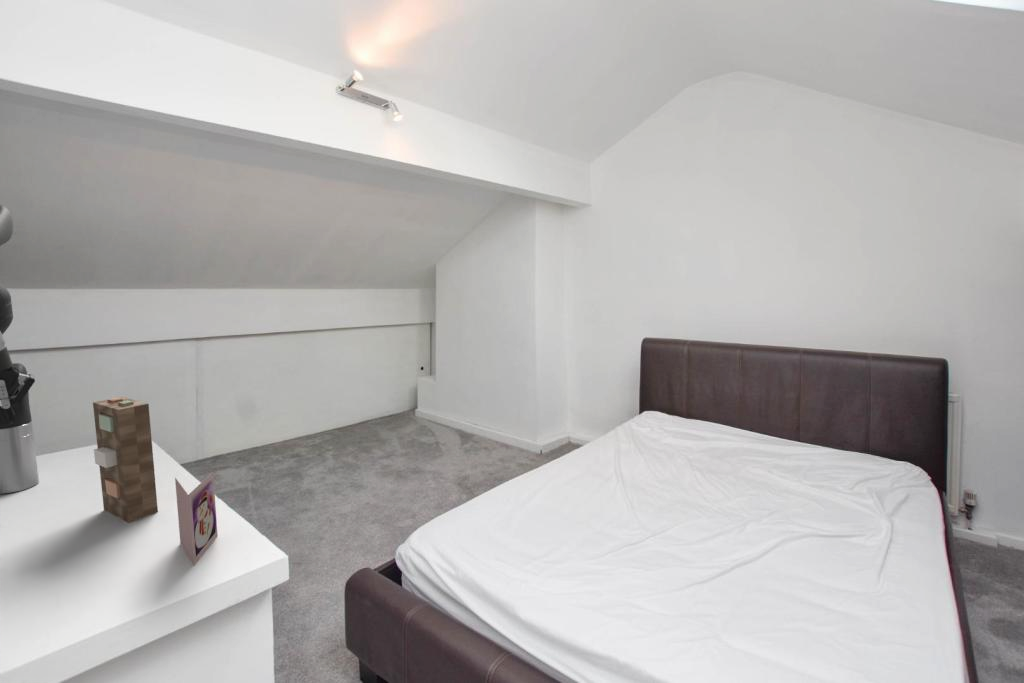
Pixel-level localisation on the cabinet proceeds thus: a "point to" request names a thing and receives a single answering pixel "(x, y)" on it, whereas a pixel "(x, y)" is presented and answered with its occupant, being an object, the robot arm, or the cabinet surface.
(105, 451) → the key middle
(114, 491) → the block
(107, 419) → the key top
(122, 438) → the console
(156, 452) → the cabinet surface
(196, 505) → the greeting card
